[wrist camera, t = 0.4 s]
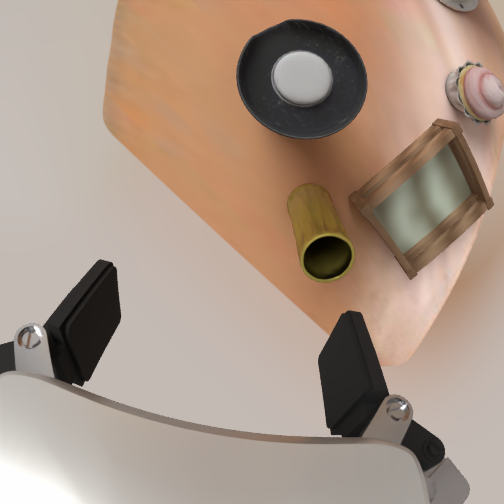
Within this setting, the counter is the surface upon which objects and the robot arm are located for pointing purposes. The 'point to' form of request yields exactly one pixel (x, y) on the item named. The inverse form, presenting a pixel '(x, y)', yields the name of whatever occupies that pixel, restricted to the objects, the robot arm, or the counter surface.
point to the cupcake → (475, 92)
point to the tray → (425, 196)
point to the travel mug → (301, 79)
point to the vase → (319, 234)
